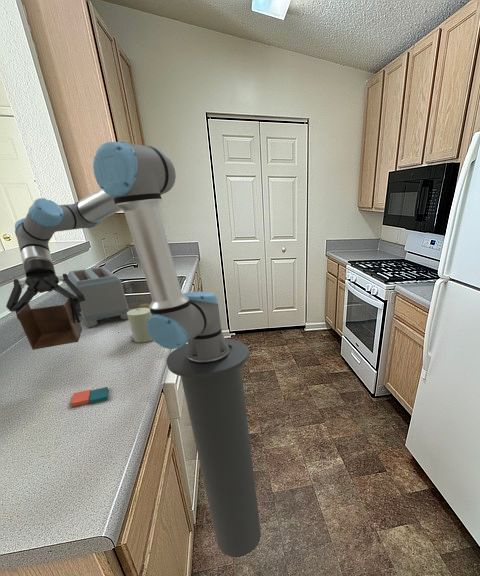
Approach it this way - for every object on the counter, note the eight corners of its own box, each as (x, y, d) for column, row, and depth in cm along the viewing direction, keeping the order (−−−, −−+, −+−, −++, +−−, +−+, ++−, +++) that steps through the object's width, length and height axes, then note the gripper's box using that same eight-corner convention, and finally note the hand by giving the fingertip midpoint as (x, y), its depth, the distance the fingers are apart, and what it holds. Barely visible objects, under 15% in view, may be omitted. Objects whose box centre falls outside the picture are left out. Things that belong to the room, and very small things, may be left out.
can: (154, 331, 142) (148, 304, 136) (160, 338, 135) (154, 310, 130) (131, 337, 137) (123, 309, 132) (136, 344, 131) (128, 315, 125)
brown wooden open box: (82, 329, 109) (70, 297, 104) (78, 341, 100) (65, 307, 95) (40, 336, 105) (26, 302, 100) (32, 349, 96) (16, 313, 91)
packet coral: (88, 399, 94) (89, 403, 95) (90, 389, 99) (91, 392, 100) (70, 403, 93) (72, 407, 93) (73, 393, 98) (74, 396, 98)
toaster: (116, 302, 181) (105, 264, 171) (132, 319, 157) (120, 275, 148) (77, 310, 171) (63, 270, 161) (87, 328, 147) (72, 283, 138)
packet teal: (106, 396, 96) (107, 399, 96) (107, 386, 100) (108, 390, 101) (89, 400, 94) (90, 404, 95) (90, 390, 99) (92, 393, 99)
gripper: (85, 267, 113) (101, 322, 108) (-6, 277, 102) (7, 339, 97) (80, 253, 106) (97, 311, 102) (-17, 262, 95) (-4, 328, 91)
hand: (53, 325), depth 100 cm, fingers closed on brown wooden open box, 12 cm apart
